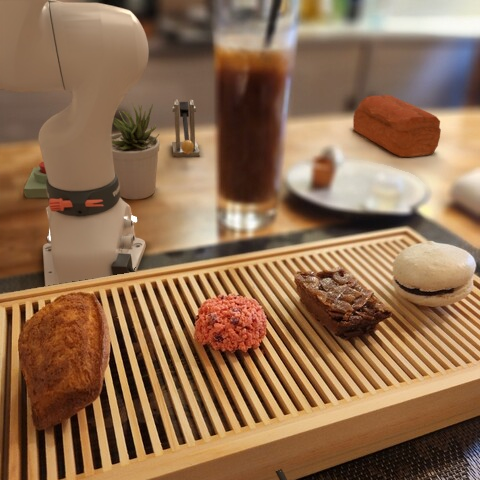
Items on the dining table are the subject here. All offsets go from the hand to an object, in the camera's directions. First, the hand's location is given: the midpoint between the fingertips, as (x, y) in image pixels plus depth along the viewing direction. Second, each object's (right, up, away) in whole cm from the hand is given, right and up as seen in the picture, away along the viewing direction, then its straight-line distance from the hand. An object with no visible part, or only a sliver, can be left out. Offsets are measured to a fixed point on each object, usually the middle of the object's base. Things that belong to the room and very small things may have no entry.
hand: (41, 87), depth 97 cm
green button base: (-2, -17, +12) cm, 21 cm away
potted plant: (+17, -19, +11) cm, 28 cm away
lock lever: (+27, 0, +24) cm, 36 cm away
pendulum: (+26, -2, +32) cm, 41 cm away
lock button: (-2, -14, +9) cm, 17 cm away
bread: (+88, +6, +45) cm, 99 cm away
